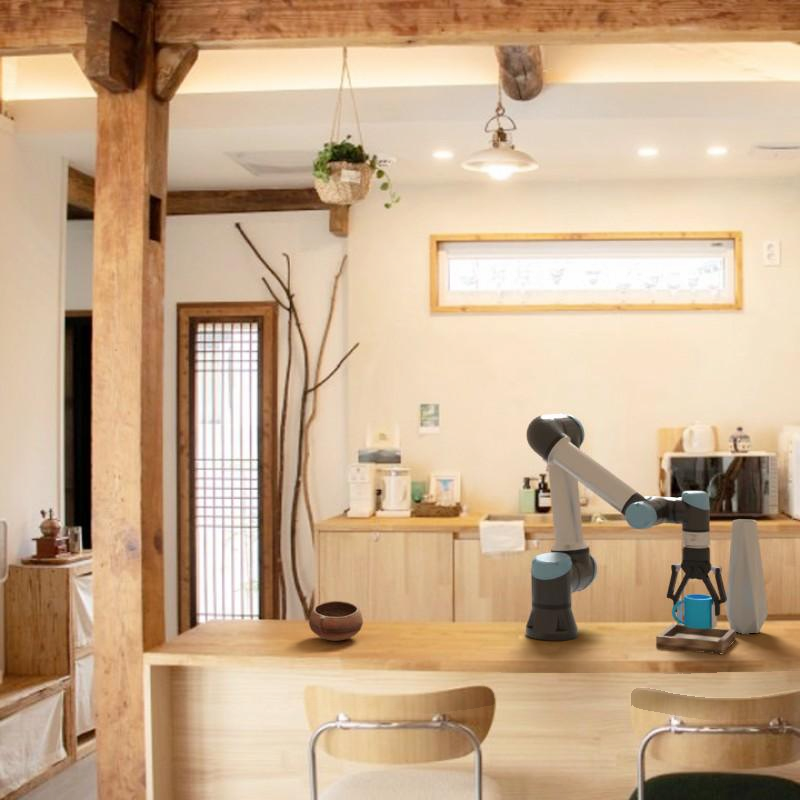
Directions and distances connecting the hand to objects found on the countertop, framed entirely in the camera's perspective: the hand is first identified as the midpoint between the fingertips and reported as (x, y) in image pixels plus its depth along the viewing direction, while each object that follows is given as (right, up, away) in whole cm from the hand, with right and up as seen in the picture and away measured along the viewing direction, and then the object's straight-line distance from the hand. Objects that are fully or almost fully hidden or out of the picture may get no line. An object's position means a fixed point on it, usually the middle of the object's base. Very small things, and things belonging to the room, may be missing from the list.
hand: (696, 625), depth 300 cm
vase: (+19, -5, +14) cm, 24 cm away
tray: (0, -5, 0) cm, 5 cm away
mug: (-1, 0, 0) cm, 1 cm away
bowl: (-103, -6, +9) cm, 103 cm away
